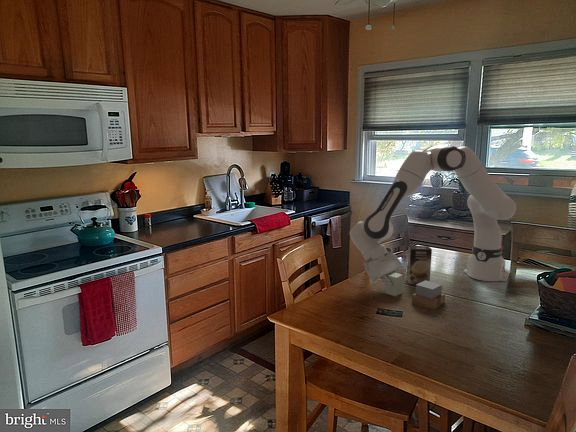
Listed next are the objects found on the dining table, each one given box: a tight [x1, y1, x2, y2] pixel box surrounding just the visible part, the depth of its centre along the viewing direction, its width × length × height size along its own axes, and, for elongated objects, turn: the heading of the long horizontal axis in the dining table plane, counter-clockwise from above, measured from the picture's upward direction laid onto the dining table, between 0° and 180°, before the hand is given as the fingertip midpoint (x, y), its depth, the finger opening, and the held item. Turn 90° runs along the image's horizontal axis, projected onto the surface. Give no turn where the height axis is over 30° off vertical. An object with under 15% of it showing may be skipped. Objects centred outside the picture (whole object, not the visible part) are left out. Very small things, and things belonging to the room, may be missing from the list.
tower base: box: [411, 292, 446, 311], centre depth 159 cm, size 9×9×4 cm
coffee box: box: [405, 245, 433, 285], centre depth 181 cm, size 9×6×16 cm
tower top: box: [415, 280, 443, 299], centre depth 159 cm, size 7×7×4 cm
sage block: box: [384, 272, 404, 297], centre depth 169 cm, size 5×5×8 cm
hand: (395, 283), depth 169 cm, fingers closed on sage block, 5 cm apart
